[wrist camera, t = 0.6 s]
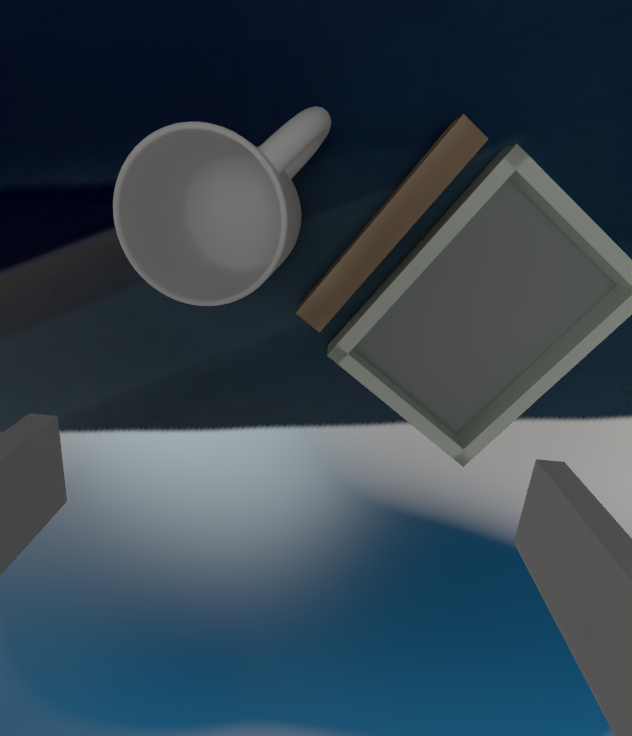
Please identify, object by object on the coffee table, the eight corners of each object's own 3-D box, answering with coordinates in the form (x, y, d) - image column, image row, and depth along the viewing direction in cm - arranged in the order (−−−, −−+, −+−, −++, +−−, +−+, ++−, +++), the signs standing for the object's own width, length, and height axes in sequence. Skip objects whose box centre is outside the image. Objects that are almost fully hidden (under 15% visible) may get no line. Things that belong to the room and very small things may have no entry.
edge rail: (299, 303, 34) (295, 313, 31) (451, 122, 30) (463, 113, 27) (320, 321, 34) (319, 332, 31) (474, 145, 30) (488, 139, 27)
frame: (327, 345, 35) (327, 355, 32) (502, 148, 30) (516, 143, 28) (455, 449, 37) (463, 466, 35) (636, 282, 32) (659, 288, 30)
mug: (287, 73, 29) (262, 7, 19) (372, 183, 31) (387, 173, 21) (155, 207, 32) (75, 209, 22) (239, 300, 34) (199, 339, 24)
